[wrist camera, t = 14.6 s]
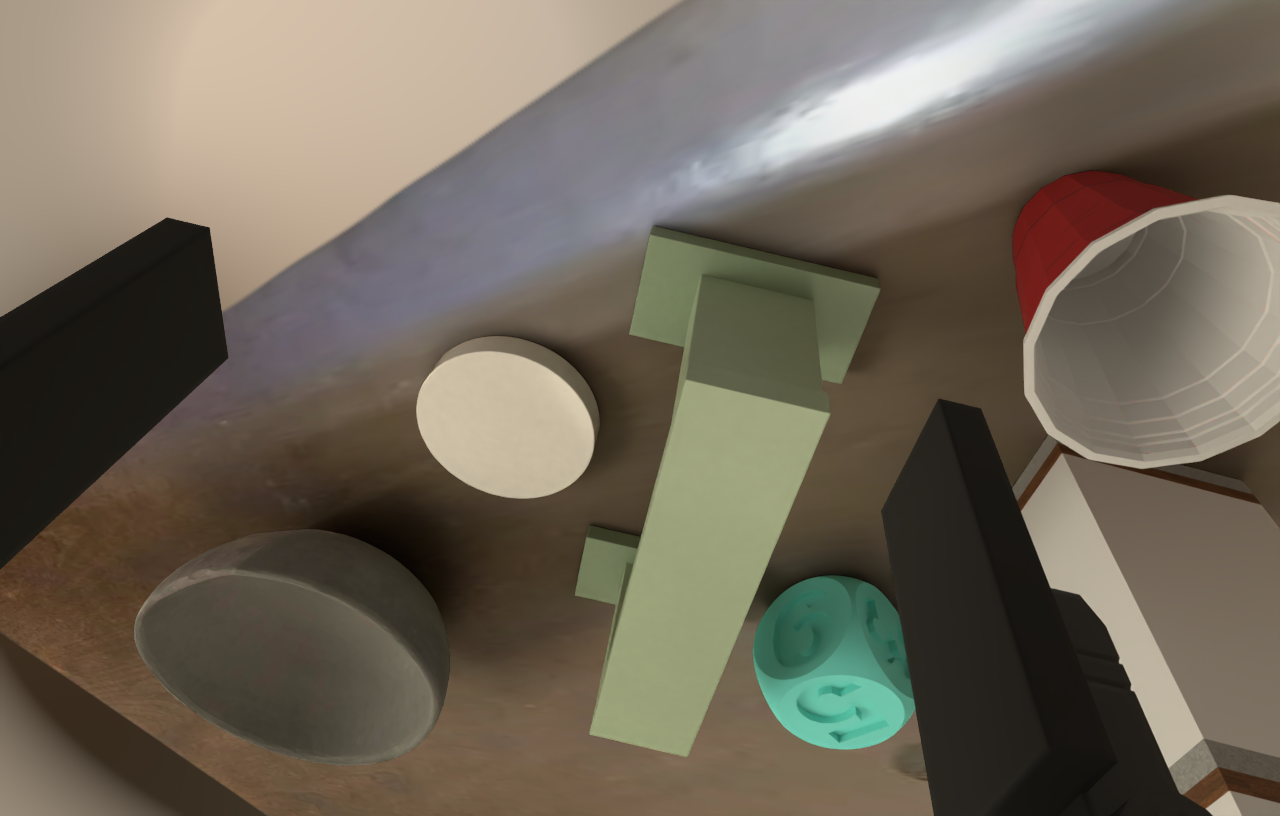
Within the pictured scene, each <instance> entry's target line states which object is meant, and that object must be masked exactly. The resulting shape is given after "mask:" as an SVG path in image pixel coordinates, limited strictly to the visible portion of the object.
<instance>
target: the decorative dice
mask: <svg viewBox="0 0 1280 816" xmlns="http://www.w3.org/2000/svg"><path fill="white" fill-rule="evenodd" d="M753 659H754V666H755V671H756V675H757V679H758V682H759V685H760V687H761V690H762V692H763V695H764V697H765V699H766V701H767V703H768V705H769V706H770V708H771V710H772V711H773V713H774V714H775V716H776V717H777V719H778V720H779V721H780V722H781V723H782V725H783V726H784V727H785V728H786V729H787V730H789V731H790V732H791V733H793V734H794V735H795V736H797V737H799V738H800V739H802V740H804V741H806V742H809V743H811V744H814V745H818V746H821V747H826V748H833V749H858V748H864V747H869V746H872V745H876V744H878V743H881V742H883V741H885V740H887V739H888V738H890V737H891V736H893V735H894V734H895V733H896V732H897V731H898V730H899V729H901V728H902V727H903V726H904V725H905V724H906V722H907V721H908V720H909V719H910V717H911V716H912V714H913V712H914V711H915V709H916V708H915V703H914V697H913V691H912V685H911V680H910V674H909V668H908V662H907V657H906V651H905V645H904V639H903V633H902V628H901V622H900V616H899V614H898V613H897V611H896V610H895V608H894V607H893V605H892V604H891V603H890V601H889V600H888V599H887V598H886V597H885V595H884V594H883V593H882V592H881V591H880V590H878V589H877V588H876V587H875V586H873V585H871V584H869V583H866V582H864V581H861V580H859V579H855V578H851V577H846V576H837V575H827V576H819V577H814V578H810V579H807V580H804V581H801V582H799V583H797V584H795V585H793V586H792V587H790V588H789V589H787V590H786V591H785V592H783V593H782V594H781V595H780V596H779V597H778V598H777V599H776V600H775V601H774V602H773V603H772V604H771V605H770V607H769V608H768V609H767V611H766V612H765V614H764V615H763V617H762V619H761V621H760V623H759V626H758V628H757V631H756V634H755V639H754V644H753Z"/></svg>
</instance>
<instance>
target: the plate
mask: <svg viewBox="0 0 1280 816" xmlns="http://www.w3.org/2000/svg"><path fill="white" fill-rule="evenodd" d="M416 410H417V421H418V426H419V429H420V432H421V435H422V438H423V440H424V441H425V443H426V445H427V447H428V449H429V450H430V451H431V453H432V454H433V456H434V457H435V458H436V459H437V460H438V461H439V463H440V464H441V465H442V466H443V467H445V468H446V469H447V470H448V471H449V472H450V473H452V474H453V475H454V476H456V477H457V478H458V479H460V480H462V481H463V482H465V483H466V484H468V485H470V486H472V487H474V488H476V489H479V490H482V491H484V492H487V493H490V494H494V495H497V496H502V497H508V498H519V499H522V498H537V497H543V496H547V495H551V494H553V493H556V492H558V491H561V490H562V489H564V488H566V487H568V486H569V485H571V484H572V483H573V482H575V481H576V480H577V479H578V478H579V477H580V476H581V475H582V474H583V472H584V471H585V469H586V468H587V467H588V465H589V462H590V460H591V458H592V455H593V451H594V448H595V445H596V441H597V438H598V434H599V426H600V420H599V411H598V406H597V403H596V400H595V398H594V395H593V393H592V391H591V389H590V387H589V385H588V384H587V383H586V381H585V380H584V378H583V377H582V376H581V375H580V373H579V372H578V371H577V370H576V369H575V368H574V367H573V366H572V365H571V364H569V363H568V362H567V361H566V360H565V359H563V358H562V357H560V356H559V355H558V354H556V353H555V352H553V351H551V350H549V349H547V348H545V347H543V346H541V345H538V344H536V343H534V342H531V341H527V340H524V339H520V338H514V337H507V336H488V337H481V338H476V339H472V340H469V341H466V342H463V343H461V344H459V345H457V346H455V347H453V348H452V349H451V350H449V351H448V352H446V353H445V354H444V355H443V356H442V357H441V358H440V359H439V361H438V362H437V363H436V365H435V366H434V368H433V369H432V371H431V372H430V374H429V375H428V377H427V378H426V380H425V381H424V383H423V385H422V387H421V389H420V392H419V396H418V399H417V408H416Z"/></svg>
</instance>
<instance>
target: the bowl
mask: <svg viewBox="0 0 1280 816" xmlns="http://www.w3.org/2000/svg"><path fill="white" fill-rule="evenodd" d="M134 637H135V642H136V645H137V648H138V651H139V653H140V655H141V657H142V659H143V661H144V663H145V664H146V666H147V667H148V668H149V670H150V671H151V672H152V674H153V675H154V676H155V677H156V679H157V680H158V681H159V682H160V683H161V684H162V685H163V686H164V687H165V688H166V689H167V691H168V692H170V693H171V694H172V695H173V696H174V697H175V698H176V699H178V700H179V701H180V702H181V703H182V704H184V705H185V706H187V707H188V708H190V709H191V710H193V711H194V712H195V713H197V714H198V715H199V716H201V717H202V718H204V719H205V720H207V721H208V722H210V723H212V724H213V725H215V726H217V727H219V728H220V729H222V730H224V731H226V732H228V733H230V734H232V735H234V736H236V737H238V738H240V739H243V740H245V741H247V742H249V743H252V744H254V745H256V746H259V747H261V748H264V749H267V750H270V751H272V752H275V753H279V754H282V755H286V756H289V757H293V758H297V759H301V760H306V761H311V762H317V763H323V764H331V765H341V766H354V765H366V764H373V763H379V762H383V761H387V760H391V759H394V758H396V757H399V756H401V755H403V754H405V753H407V752H409V751H411V750H413V749H414V748H415V747H416V746H418V745H419V744H420V743H421V742H422V741H423V740H424V739H425V738H426V737H427V736H428V734H429V733H430V731H431V730H432V729H433V727H434V725H435V723H436V721H437V720H438V717H439V715H440V712H441V709H442V706H443V704H444V700H445V695H446V691H447V686H448V680H449V672H450V652H449V644H448V638H447V633H446V629H445V625H444V622H443V619H442V616H441V614H440V612H439V609H438V607H437V605H436V603H435V601H434V600H433V598H432V596H431V595H430V593H429V592H428V591H427V589H426V588H425V587H424V586H423V584H422V583H421V582H420V581H419V580H418V579H417V578H416V577H415V576H414V575H413V574H412V573H411V572H410V571H409V570H408V569H407V568H405V567H404V566H403V565H402V564H401V563H399V562H398V561H397V560H395V559H394V558H393V557H391V556H390V555H388V554H387V553H385V552H383V551H382V550H380V549H378V548H376V547H374V546H372V545H370V544H368V543H366V542H363V541H361V540H359V539H356V538H354V537H350V536H347V535H344V534H340V533H334V532H331V531H325V530H319V529H297V530H286V531H270V532H260V533H255V534H251V535H248V536H244V537H241V538H238V539H236V540H233V541H230V542H228V543H225V544H223V545H220V546H218V547H215V548H213V549H210V550H209V551H207V552H205V553H203V554H201V555H199V556H197V557H195V558H194V559H192V560H190V561H189V562H187V563H185V564H184V565H182V566H181V567H180V568H178V569H177V570H176V571H174V572H173V573H172V574H171V575H170V576H168V577H167V578H166V579H165V580H164V581H163V582H162V583H161V584H160V585H159V586H158V587H157V588H156V589H155V590H154V591H153V592H152V594H151V595H150V596H149V598H148V599H147V600H146V602H145V603H144V604H143V606H142V608H141V609H140V611H139V613H138V615H137V617H136V621H135V628H134Z"/></svg>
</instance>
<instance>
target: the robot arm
mask: <svg viewBox="0 0 1280 816" xmlns="http://www.w3.org/2000/svg"><path fill="white" fill-rule="evenodd" d="M227 359H228V352H227V345H226V338H225V332H224V325H223V318H222V311H221V304H220V298H219V291H218V283H217V276H216V269H215V263H214V256H213V248H212V242H211V235H210V228H209V227H205V226H200V225H196V224H192V223H188V222H183V221H179V220H175V219H171V218H165V219H164V220H162V221H161V222H159V223H157V224H156V225H154V226H152V227H151V228H149V229H147V230H145V231H144V232H142V233H140V234H139V235H137V236H135V237H134V238H132V239H130V240H129V241H127V242H125V243H124V244H122V245H120V246H119V247H117V248H115V249H114V250H112V251H110V252H109V253H107V254H105V255H104V256H102V257H100V258H99V259H97V260H95V261H94V262H92V263H91V264H89V265H87V266H85V267H84V268H82V269H80V270H79V271H77V272H75V273H74V274H72V275H71V276H69V277H67V278H65V279H64V280H62V281H60V282H59V283H57V284H55V285H54V286H52V287H50V288H49V289H47V290H45V291H44V292H42V293H40V294H39V295H37V296H35V297H34V298H32V299H30V300H29V301H27V302H25V303H24V304H22V305H20V306H19V307H17V308H15V309H14V310H12V311H10V312H9V313H7V314H5V315H4V316H2V317H0V569H1V568H2V567H3V566H4V565H5V564H7V563H8V562H9V561H10V560H11V559H12V558H13V557H14V556H15V555H16V554H17V553H18V552H19V551H21V550H22V549H23V548H24V547H25V546H26V545H27V544H28V543H29V542H30V541H31V540H32V539H34V538H35V537H36V536H37V535H38V534H39V533H40V532H41V531H42V530H43V529H44V528H45V527H46V526H48V525H49V524H50V523H51V522H52V521H53V520H54V519H55V518H56V517H57V516H58V515H59V514H60V513H62V512H63V511H64V510H65V509H66V508H67V507H68V506H69V505H70V504H71V503H72V502H73V501H74V500H76V499H77V498H78V497H79V496H80V495H81V494H82V493H83V492H84V491H85V490H86V489H87V488H89V487H90V486H91V485H92V484H93V483H94V482H95V481H96V480H97V479H98V478H99V477H100V476H101V475H103V474H104V473H105V472H106V471H107V470H108V469H109V468H110V467H111V466H112V465H113V464H114V463H115V462H117V461H118V460H119V459H120V458H121V457H122V456H123V455H124V454H125V453H126V452H127V451H128V450H129V449H131V448H132V447H133V446H134V445H135V444H136V443H137V442H138V441H139V440H140V439H141V438H142V437H144V436H145V435H146V434H147V433H148V432H149V431H150V430H151V429H152V428H153V427H154V426H155V425H156V424H158V423H159V422H160V421H161V420H162V419H163V418H164V417H165V416H166V415H167V414H168V413H169V412H170V411H172V410H173V409H174V408H175V407H176V406H177V405H178V404H179V403H180V402H181V401H182V400H183V399H184V398H186V397H187V396H188V395H189V394H190V393H191V392H192V391H193V390H194V389H195V388H196V387H197V386H199V385H200V384H201V383H202V382H203V381H204V380H205V379H206V378H207V377H208V376H209V375H210V374H211V373H213V372H214V371H215V370H216V369H217V368H218V367H219V366H220V365H221V364H222V363H223V362H224V361H225V360H227ZM881 512H882V518H883V524H884V530H885V536H886V541H887V547H888V553H889V559H890V564H891V570H892V576H893V582H894V587H895V593H896V599H897V605H898V610H899V616H900V622H901V628H902V633H903V639H904V645H905V651H906V657H907V662H908V668H909V674H910V680H911V685H912V691H913V697H914V703H915V708H916V714H917V720H918V726H919V731H920V737H921V743H922V749H923V754H924V760H925V766H926V772H927V778H928V783H929V789H930V795H931V801H932V806H933V812H934V816H1213V815H1212V814H1211V813H1210V812H1209V811H1208V810H1206V809H1205V808H1203V807H1202V806H1200V805H1198V804H1197V803H1195V802H1194V801H1192V800H1191V799H1189V798H1187V797H1186V796H1184V795H1183V794H1180V793H1179V791H1178V789H1177V787H1176V784H1175V782H1174V780H1173V778H1172V775H1171V773H1170V771H1169V768H1168V766H1167V764H1166V762H1165V759H1164V757H1163V755H1162V753H1161V750H1160V748H1159V746H1158V743H1157V741H1156V739H1155V737H1154V734H1153V732H1152V730H1151V728H1150V725H1149V723H1148V721H1147V718H1146V716H1145V714H1144V712H1143V709H1142V707H1141V705H1140V702H1139V700H1138V698H1137V696H1136V693H1135V691H1131V685H1132V684H1131V682H1130V680H1129V677H1128V675H1127V673H1126V671H1125V668H1124V666H1123V664H1119V659H1120V657H1119V655H1118V652H1117V650H1116V648H1115V646H1114V643H1113V641H1112V639H1111V637H1110V634H1109V632H1108V630H1107V627H1106V626H1105V624H1104V623H1103V622H1102V621H1101V620H1100V618H1099V617H1098V616H1097V615H1096V614H1095V612H1094V611H1093V610H1092V609H1091V608H1090V606H1089V605H1088V604H1087V603H1086V602H1085V600H1084V599H1083V598H1082V597H1081V596H1080V595H1079V594H1075V593H1070V592H1066V591H1062V590H1058V589H1053V588H1050V585H1049V583H1048V580H1047V578H1046V575H1045V572H1044V570H1043V567H1042V565H1041V562H1040V559H1039V557H1038V554H1037V552H1036V549H1035V547H1034V544H1033V541H1032V539H1031V536H1030V534H1029V531H1028V528H1027V526H1026V523H1025V521H1024V518H1023V516H1022V513H1021V510H1020V508H1019V505H1018V503H1017V500H1016V497H1015V495H1014V492H1013V490H1012V487H1011V485H1010V482H1009V479H1008V477H1007V474H1006V472H1005V469H1004V466H1003V464H1002V461H1001V459H1000V456H999V454H998V451H997V448H996V446H995V443H994V441H993V438H992V435H991V433H990V430H989V428H988V425H987V423H986V420H985V417H984V415H983V412H982V410H981V408H977V407H972V406H968V405H964V404H959V403H955V402H951V401H947V400H942V399H938V401H937V403H936V405H935V407H934V409H933V411H932V413H931V414H930V416H929V418H928V420H927V422H926V424H925V426H924V428H923V430H922V432H921V434H920V436H919V438H918V440H917V442H916V444H915V446H914V448H913V450H912V452H911V454H910V456H909V458H908V459H907V461H906V463H905V465H904V467H903V469H902V471H901V473H900V475H899V477H898V479H897V481H896V483H895V485H894V487H893V489H892V491H891V493H890V495H889V497H888V499H887V501H886V502H885V504H884V506H883V508H882V510H881Z"/></svg>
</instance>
